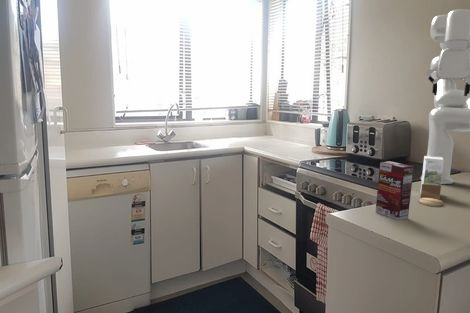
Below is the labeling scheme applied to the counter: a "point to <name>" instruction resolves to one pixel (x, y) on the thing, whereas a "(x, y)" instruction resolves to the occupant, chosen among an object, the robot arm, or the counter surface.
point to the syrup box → (432, 170)
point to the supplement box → (394, 190)
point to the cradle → (430, 191)
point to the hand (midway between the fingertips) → (450, 95)
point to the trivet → (430, 202)
